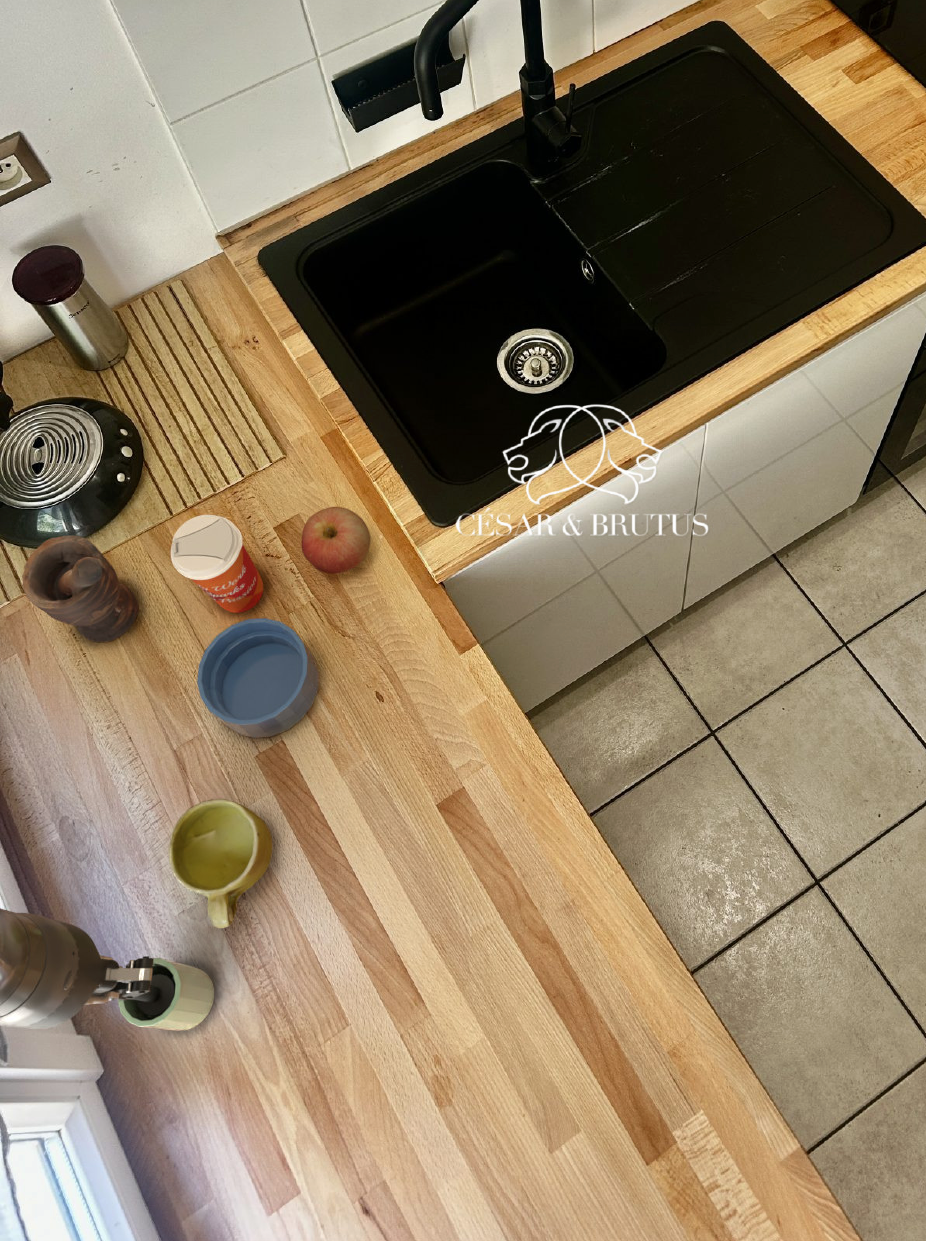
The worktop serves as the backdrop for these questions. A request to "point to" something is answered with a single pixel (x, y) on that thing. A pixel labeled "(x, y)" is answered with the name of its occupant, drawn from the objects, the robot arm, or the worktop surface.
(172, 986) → the black pestle
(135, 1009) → the utensil jar
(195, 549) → the paper cup
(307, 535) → the apple
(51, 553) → the mortar and pestle
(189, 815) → the mug
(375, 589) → the worktop surface
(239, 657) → the bowl
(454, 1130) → the worktop surface
